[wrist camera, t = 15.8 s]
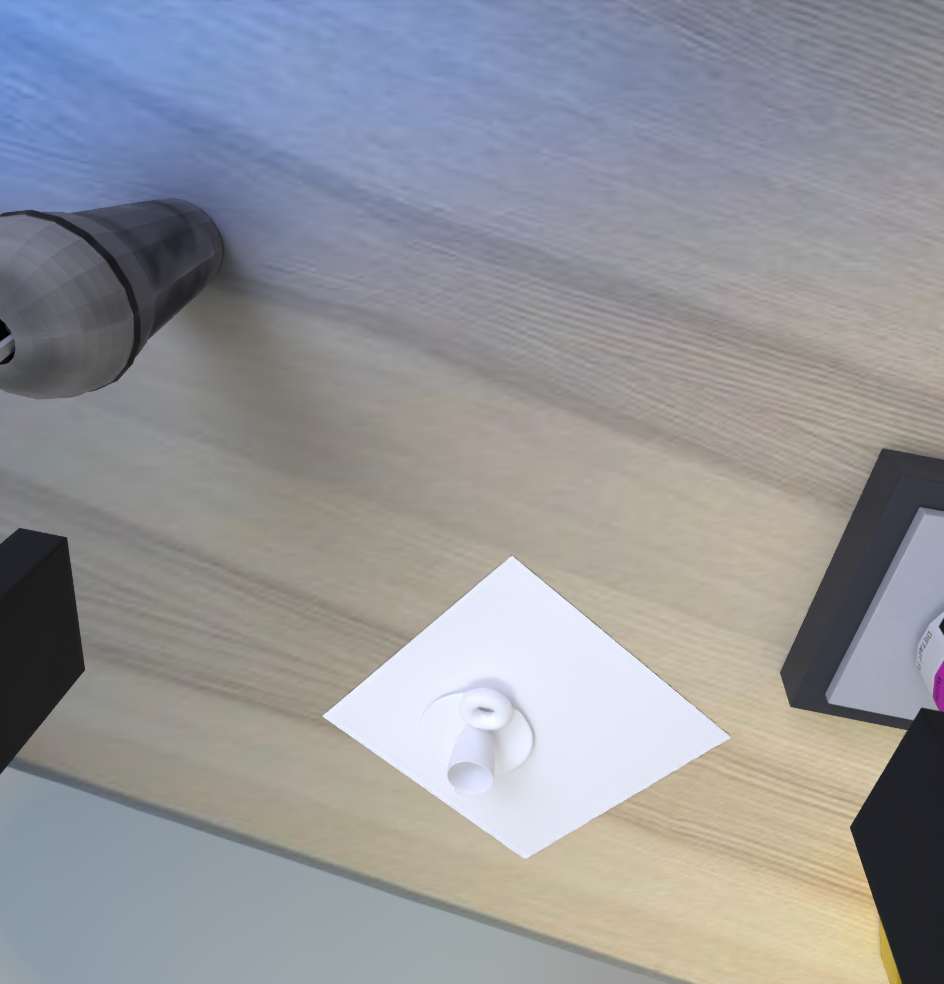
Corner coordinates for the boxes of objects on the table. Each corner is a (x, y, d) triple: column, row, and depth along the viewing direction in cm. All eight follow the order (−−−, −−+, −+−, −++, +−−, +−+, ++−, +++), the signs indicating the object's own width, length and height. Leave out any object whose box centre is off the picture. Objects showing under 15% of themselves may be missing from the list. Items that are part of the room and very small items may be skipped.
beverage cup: (151, 136, 39) (-202, 207, 22) (274, 235, 40) (39, 375, 23) (91, 252, 42) (-256, 395, 25) (208, 339, 44) (-42, 531, 26)
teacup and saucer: (479, 662, 52) (471, 707, 49) (565, 729, 54) (563, 776, 51) (397, 726, 56) (385, 771, 53) (480, 786, 58) (473, 834, 55)
